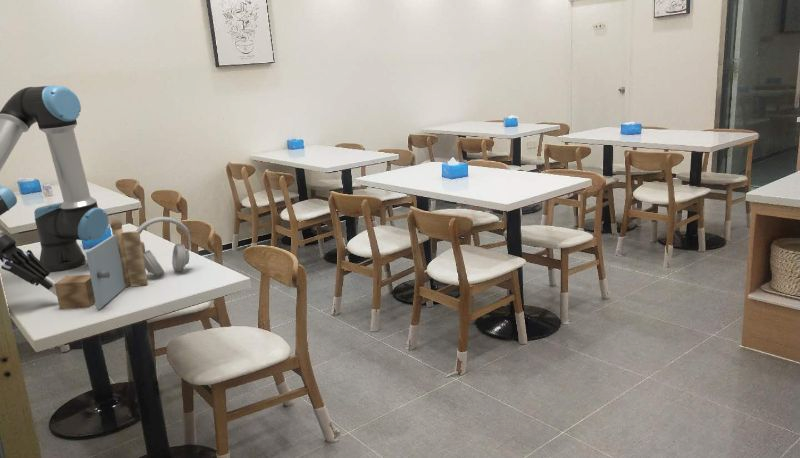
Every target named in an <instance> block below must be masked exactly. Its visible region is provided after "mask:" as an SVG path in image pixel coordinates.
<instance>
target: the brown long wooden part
mask: <svg viewBox="0 0 800 458" xmlns="http://www.w3.org/2000/svg"><path fill="white" fill-rule="evenodd" d="M110 228H111V232H112V235H117V240H118V245H119V250H120V258H121V264H122V269H123V273H124V279H125V286H126V287H125V288H129V287H142V286H147V285H148V284H149V282H148V276H147V270H146V269H145V264H144V258H143V252H142V246H141V242H142V239H141V234H139V231H136V230H134V231H132V230H131V231H124V230H123V223H122V221H120V220H119V219H115V220H112V221H111V222H110ZM125 288H124V289H125Z"/></svg>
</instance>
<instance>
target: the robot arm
mask: <svg viewBox="0 0 800 458" xmlns="http://www.w3.org/2000/svg"><path fill="white" fill-rule="evenodd" d="M81 107H82V106H81V102H80V99H79V97H78V96H77V94H76V93H75V92H74V91H73V90H71V89H70V88H68V87H66V86H63V85H55V84H54V85H53V84H52V85H44V86H27V87H24V88H21V89H19V90H18V91H16V92H15V93H14V94H13V95H12V96H11V97H10V98H9V99H8V100H7V101H6V103H5V104H4V105H3V107H2V108H1V110H0V172H1V170H2V169H3V167H4V166H5V164H6V162H7V160H9V159H8V158H10V155H11V153H12V152H13V150H14V149H15V147H16V145H17V143H18V141H19V140H20V138H21V136H22V135H23V133H27V132H28V131H29V129H30V128H31V127H32V126H33V125H34V124H36V123H37V126H38V129H39V130H40V131H42V132H43V133H44V134H45V136H46V139H47V143H48V147H49V151H50V154H51V158H52V163H53V166H54V170H55V174H56V178H57V182H58V185H59V188H60V193H61V196H62V199H63V201H62V202H57V203H54V204H47V205H43V206H40V207H36V208H35V210H34V222H35V225H36V229H37V230H36V231H37V233H38V238H39V242H40V248H41V249H40V255H39V259H38V258H37V257H36V256H35V255H34V253H33V251H32V250H30V249H28V250H26V251H23V250H22V249H21V248H19V247H17V246H16V244H17V242H16V241H15V240H14V239H13V238H11V237H10V236H9V235H8V234H5V232H4V231H3V230H1V229H0V261H1V263H3V264H2V265H1V267H0V269H1V270H4V271H6V272H10V273H11V274H13V275H15V276H17V277H19V278H20V279H22V280H24V281H25V282H27V283H29V284H31V285H34V286H39V285H41V286H42V287H43V288H45V289H46V290H48V291H49V292H51V293H52V294H53V295H55V296H56V297H57V293H56V289H55V283H57V282H58V281H56V280H54V278H52V277H50V276H49V275H50V274H51V272H57V271H59V272H60V271H65V270H66V271H67V270H70V269H75V268H77V267H80V266H81V265H84V264H85V263H86V262H87V260H86V259H87V258H86V256H85V255H86V254H85V253H84V252H83V251H82V248H81V247H80V245H79V244H78V241H84V242H86V241H87V242H88V241H96V240H98V239H100V238H101V237H103V236H104V235H105V234H106V230H107V229H108V226H109V216H108V214H107V212H106V211H105V210H104V209H102V208H101V207H99V206H98V203H97V199H96V198H94V197H92V196H91V194H90V190H89V186H88V181H87V178H86V173H85V169H84V165H83V161H82V158H81V154H80V149H79V146H78V145H79V144H78V142H77V137H76V134H75V128H76V127H77V125H78V122H77V118H79V116H80V113H81V111H82V110H81V109H82V108H81ZM17 202H18V199H17V196H16V194H15V193H14V191H13V190H12V189H11V188H10V187H8V186H6V185H0V216H2V215H3V214H5V213H6V212H9V211H10V210H11V209H12V208H13V207H15V205H17Z"/></svg>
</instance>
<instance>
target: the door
mask: <svg viewBox="0 0 800 458" xmlns="http://www.w3.org/2000/svg"><path fill="white" fill-rule="evenodd" d="M85 255H86V259H87V260H86V262H87V265H88V271H89V275H90V276H91V281H92V287H93V292H94V297H95V302H96V303H95V306H96V310H101V309H102V308H103V307H105V306H106V305H107V304H108V303H109V302H110V301H111V300H112V299H113V298H114V297H116V296H117V295H118V294H119V293H121V291H123V290H124V289H125V287H126V286H125V279H124V273H123V269H122V264H121V258H120V250H119V245H118V240H117V235H113V234H112V235H111V236H109V237H108V238H106V239H104V240H102V241H101V242H99V243H98V244H96V245H95V246H93V247H91V248H89V249H88V250H87V251H85ZM126 288H127V287H126Z"/></svg>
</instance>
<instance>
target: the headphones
mask: <svg viewBox="0 0 800 458" xmlns="http://www.w3.org/2000/svg"><path fill="white" fill-rule="evenodd" d="M161 222H167V223H171V224H173V225H175V226H177V227H179V228H180V229H181V230H182V231H183V232H184V233H185V235H186V237H187V241H188V245H187V248H186V245H185V244H184V243H183V244H181V243H179V244H178V243H175V245H174V246H173V250H172V257H171V258H172V259H171V260H172V261H171V262H172V263H171V264H172V269H173V271H180V272H183V270H184V269H185V267H186V265H188V264H189V263H190V252H189V251H190V249H191V246H192V242H191V241H192V240H191V234H190V230H189V228H188V227H187V226H186V225H185V224H184V223H182V222H181V221H180V220H178V219H176V218H173V217H169V216H156V217H152V218H149V219H148V220H146V221H144V222H143V223H141V224H140V225H139V227H138V228H136V230H135V231H139V234H140V235H141V233H142V232H143V231H144V230H145V229H146V228H147V227H149V226H151V225H153V224H157V223H161ZM143 258H144V264H145V270H146V272H147V273H148V274H153V275H155V276H157V277H160V275H162V274H163V273H165V270H164V269H163V267H162V265H160V263H159V261H158V260H157V258H156V257H155V256H154V254H153V252H152V251H151V249H148V250H145V252H144V253H143Z"/></svg>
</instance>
